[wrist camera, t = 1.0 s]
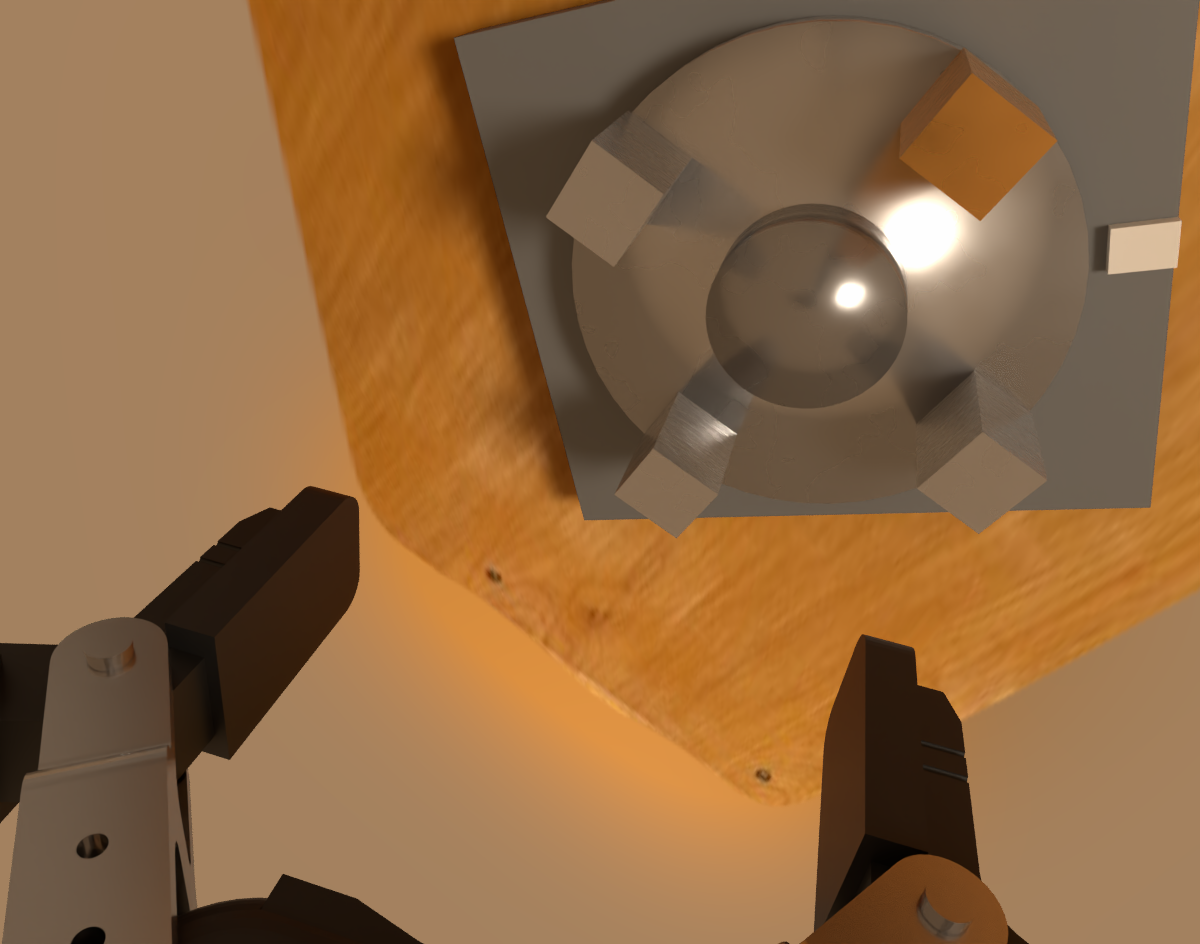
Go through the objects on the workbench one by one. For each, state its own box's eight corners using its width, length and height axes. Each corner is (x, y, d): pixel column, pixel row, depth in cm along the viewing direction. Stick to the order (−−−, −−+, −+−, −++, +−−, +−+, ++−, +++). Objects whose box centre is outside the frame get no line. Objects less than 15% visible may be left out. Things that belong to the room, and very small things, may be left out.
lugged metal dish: (532, 73, 29) (469, 106, 25) (1096, -45, 23) (1137, -29, 19) (631, 492, 37) (595, 571, 33) (1072, 477, 31) (1097, 570, 27)
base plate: (477, 29, 31) (448, 39, 29) (1192, -138, 24) (1217, -139, 22) (597, 494, 40) (581, 525, 38) (1138, 476, 33) (1152, 514, 31)
